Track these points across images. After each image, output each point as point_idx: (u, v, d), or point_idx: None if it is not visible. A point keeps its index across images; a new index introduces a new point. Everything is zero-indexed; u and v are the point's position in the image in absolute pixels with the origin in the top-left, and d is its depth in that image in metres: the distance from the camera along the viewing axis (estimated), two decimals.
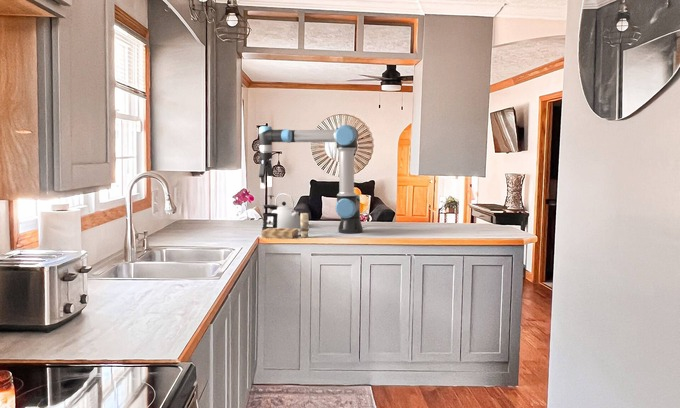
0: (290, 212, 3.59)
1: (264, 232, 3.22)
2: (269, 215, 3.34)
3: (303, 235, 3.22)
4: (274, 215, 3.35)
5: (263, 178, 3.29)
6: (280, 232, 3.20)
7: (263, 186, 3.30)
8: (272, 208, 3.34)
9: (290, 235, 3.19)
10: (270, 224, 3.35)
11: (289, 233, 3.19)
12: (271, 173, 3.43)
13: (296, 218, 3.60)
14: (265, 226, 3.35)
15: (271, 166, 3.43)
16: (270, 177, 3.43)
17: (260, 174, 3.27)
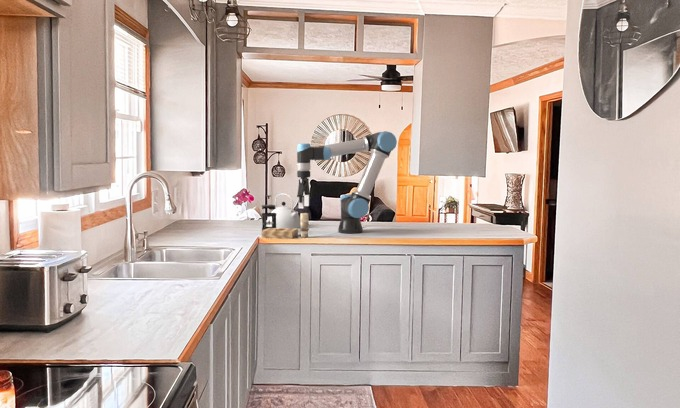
0: (290, 212, 3.59)
1: (264, 232, 3.22)
2: (268, 215, 3.34)
3: (303, 235, 3.22)
4: (273, 215, 3.35)
5: (301, 198, 3.14)
6: (280, 232, 3.20)
7: (301, 206, 3.15)
8: (271, 208, 3.34)
9: (290, 235, 3.19)
10: None
11: (289, 233, 3.19)
12: (308, 192, 3.28)
13: (296, 218, 3.60)
14: (265, 226, 3.35)
15: (308, 184, 3.28)
16: (307, 196, 3.28)
17: (299, 194, 3.12)
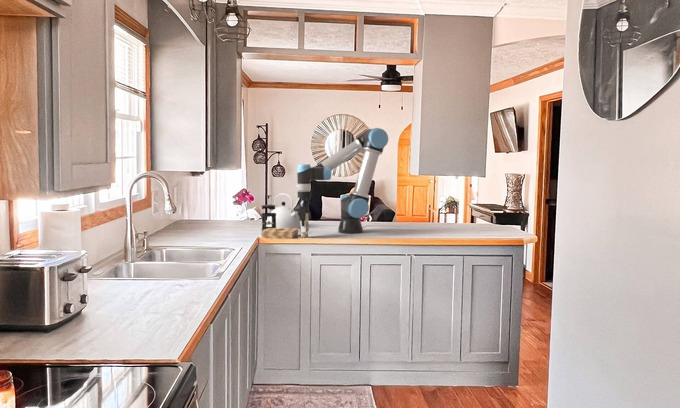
0: (289, 212, 3.59)
1: (264, 232, 3.22)
2: (268, 215, 3.34)
3: (303, 235, 3.22)
4: (273, 215, 3.35)
5: (304, 221, 3.19)
6: (280, 232, 3.20)
7: (304, 229, 3.20)
8: (271, 208, 3.34)
9: (290, 235, 3.19)
10: (269, 224, 3.35)
11: (289, 233, 3.19)
12: None
13: (295, 218, 3.59)
14: (265, 226, 3.35)
15: (308, 207, 3.28)
16: None
17: (301, 218, 3.17)
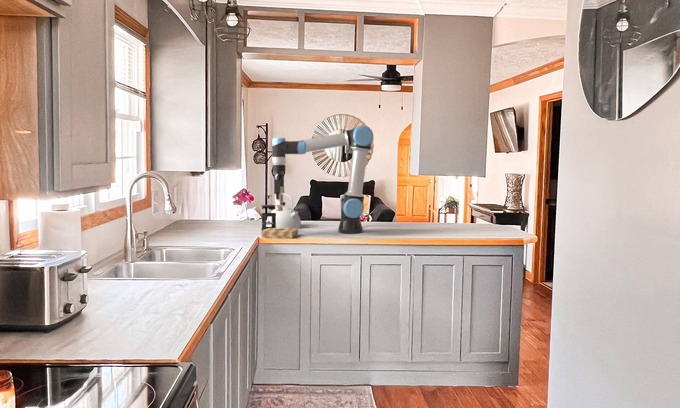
0: (289, 212, 3.58)
1: (264, 232, 3.22)
2: (268, 215, 3.34)
3: (277, 208, 3.24)
4: (273, 215, 3.35)
5: (278, 194, 3.21)
6: (280, 232, 3.20)
7: (278, 203, 3.23)
8: (271, 208, 3.34)
9: (290, 235, 3.19)
10: (269, 224, 3.35)
11: (289, 233, 3.19)
12: None
13: (295, 218, 3.59)
14: (265, 226, 3.35)
15: (283, 181, 3.30)
16: None
17: (275, 190, 3.19)
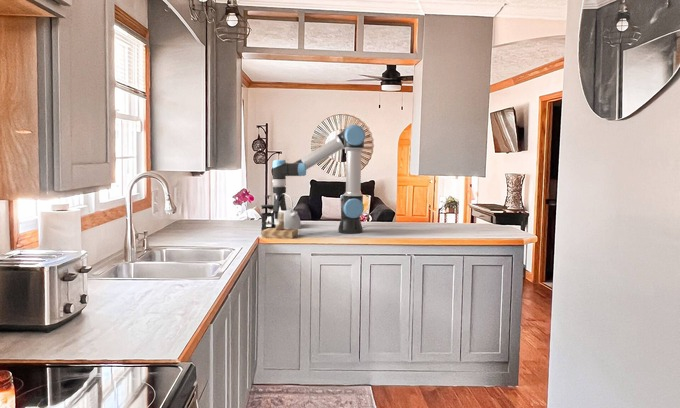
0: (289, 212, 3.58)
1: (264, 232, 3.22)
2: (268, 215, 3.34)
3: None
4: (273, 215, 3.35)
5: (277, 214, 3.19)
6: (280, 232, 3.20)
7: (277, 222, 3.20)
8: (270, 208, 3.34)
9: (290, 235, 3.19)
10: (269, 224, 3.35)
11: (289, 233, 3.19)
12: (284, 207, 3.32)
13: (295, 218, 3.59)
14: (264, 226, 3.35)
15: (284, 200, 3.32)
16: (283, 211, 3.32)
17: (274, 210, 3.17)
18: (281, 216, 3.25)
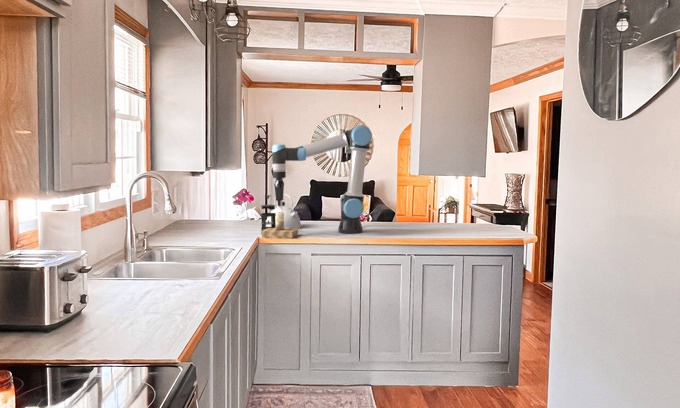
0: (289, 212, 3.58)
1: (264, 232, 3.22)
2: (268, 215, 3.34)
3: None
4: (273, 215, 3.35)
5: (280, 201, 3.24)
6: (280, 232, 3.20)
7: (280, 209, 3.25)
8: (270, 208, 3.34)
9: (290, 235, 3.19)
10: (269, 224, 3.35)
11: (289, 233, 3.19)
12: (282, 196, 3.27)
13: (295, 218, 3.59)
14: (264, 226, 3.35)
15: (283, 189, 3.29)
16: None
17: None
18: (281, 216, 3.25)
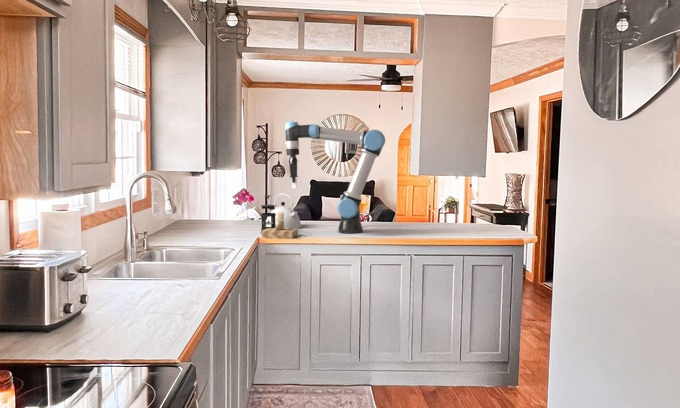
0: (289, 212, 3.58)
1: (264, 232, 3.22)
2: (268, 215, 3.34)
3: None
4: (273, 215, 3.35)
5: (294, 178, 3.30)
6: (280, 232, 3.20)
7: (294, 186, 3.32)
8: (270, 208, 3.34)
9: (290, 235, 3.19)
10: (269, 224, 3.35)
11: (289, 233, 3.19)
12: (296, 173, 3.33)
13: (295, 218, 3.58)
14: (264, 226, 3.35)
15: (296, 166, 3.35)
16: None
17: (291, 174, 3.28)
18: (281, 216, 3.25)
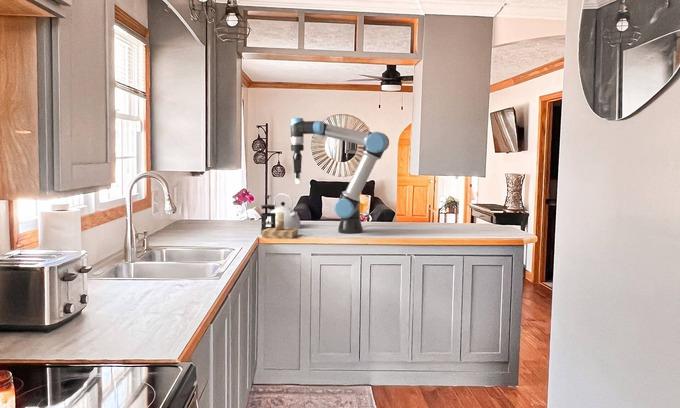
0: (289, 212, 3.58)
1: (264, 232, 3.22)
2: (268, 215, 3.34)
3: None
4: (273, 215, 3.35)
5: (298, 174, 3.33)
6: (280, 232, 3.20)
7: (298, 181, 3.34)
8: (270, 208, 3.34)
9: (290, 235, 3.19)
10: None
11: (289, 233, 3.19)
12: (300, 169, 3.35)
13: (295, 218, 3.58)
14: (264, 226, 3.35)
15: None
16: None
17: (295, 170, 3.31)
18: (281, 216, 3.25)
